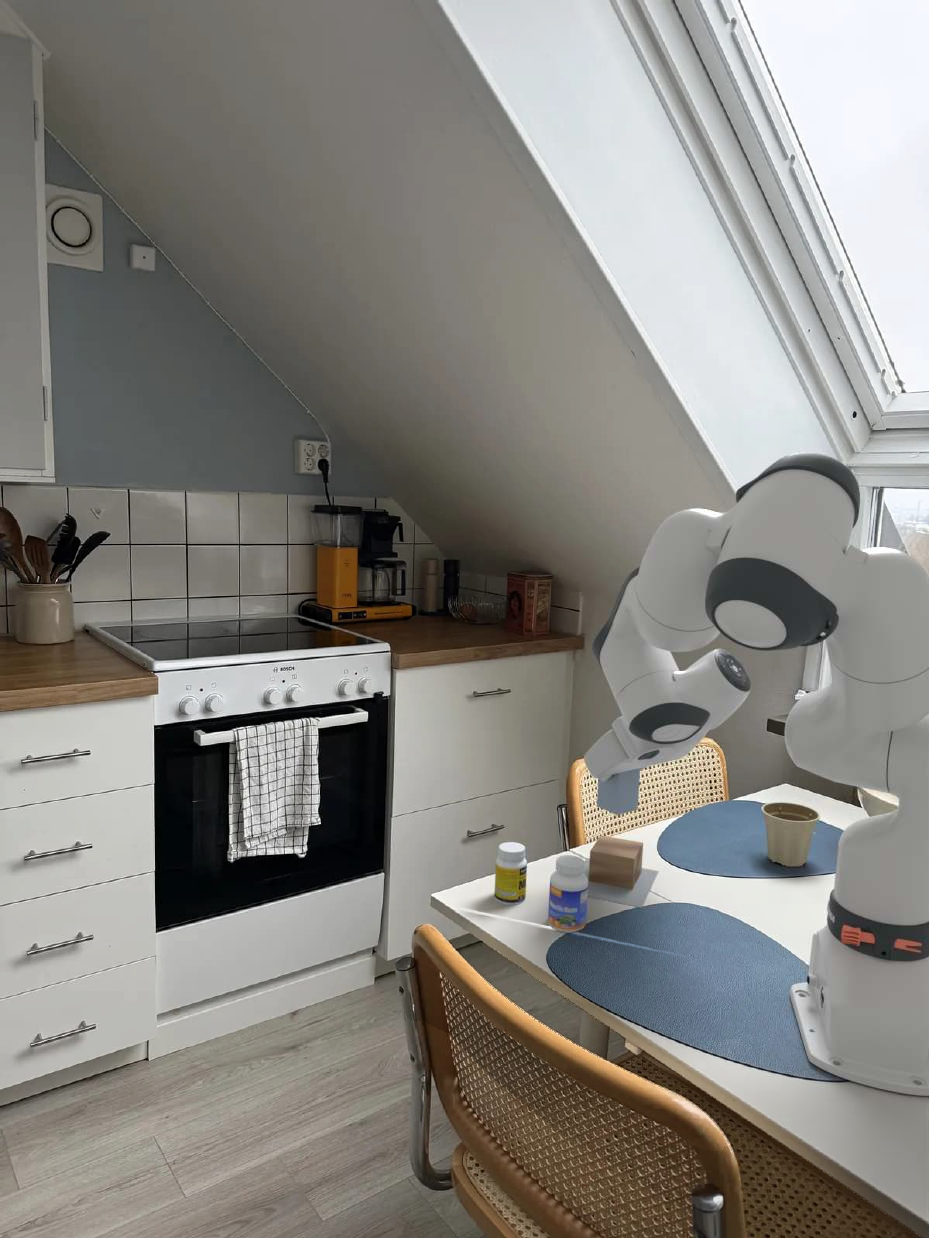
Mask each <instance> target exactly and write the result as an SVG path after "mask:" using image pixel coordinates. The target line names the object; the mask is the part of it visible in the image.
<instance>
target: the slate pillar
mask: <svg viewBox="0 0 929 1238" xmlns="http://www.w3.org/2000/svg"><path fill="white" fill-rule="evenodd" d="M640 772H641V771H640V768H639V769H634V770H630V771H626V772H621V773H617V774H614V775H615V776H614V777H613V778H612V779H611V780H609V781H605V782H602V781H601V780H600V778H597V795H596V796H597V797H596V807H597V808H600V809H602V810H605V811H607V812H609V813H611V814H614V815H616V816H619V815H623V814H626V813H630V812H634V811H638V810H639V795H640V794H639V793H640V790H639V789H640V774H641V773H640Z"/></svg>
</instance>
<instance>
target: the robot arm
mask: <svg viewBox="0 0 929 1238" xmlns="http://www.w3.org/2000/svg"><path fill="white" fill-rule="evenodd" d="M860 491H861V490H860V487H859V483H858V479H857V478H856V476H855V475H854V473H853V472H852V471H851V470H850V468H849V467H847V466H846V465H845V464H844V463H842V461H840V460H837V459H836V458H833V457H831V456H830V455H826V454H823V453H818V452H810V451H802V452H795V453H792V454H791V453H790V454H788V455H785V456H783V457H781V458H779V459H778V460H776V461H775V462H773V463H772V464H771V465H769V466H768V467H767V468H765V469H764V470H763V471H761V473H760V474H759V475H758V476H757V477H755V478H753V479H752V480H750V481H749V482H747V483H745V484H744V485H742V486H741V487H740V488H738V489H737V490H736V492H735V500H736V504H735V505H734V506H733V507H732V508H731V509H729V510H727V511H725V512H716V511H713V510H709V509H704V508H687V509H683V510H680V511H677V512H675V513H673V514H671V515H670V516H668V517H667V518H666V519H664V521H663V522H661V524H660V525H659V527H658V528H657V529H656V531H655V532H654V534H653V536H652V538H651V540H650V541H649V544H648V546H647V548H646V550H645V552H644V554H643V557H642V560H641V563H640V565H639V566H638V567H637V568H635V569H634V570H632V571H631V573H630V574H628V576H627V577H626V579H625V580H624V581H623V584H622V585H621V587H620V591H619V592H618V595H617V597H616V599H615V602H614V605H613V608H612V610H611V613H610V616H609V617H608V619H607V621H606V622H605V623H604V624H603V625H602V626H601V628H600V629H599V630H598V632H597V634H596V635H595V637H594V641H593V643H592V653H593V655H594V657H595V658H596V660H597V663H598V664H599V667H600V668H601V670H602V672H603V674H604V677H605V679H606V681H607V683H608V686H609V687H610V690H611V692H612V694H613V695H612V696H613V697H614V699H615V703H616V704H617V706H618V708H619V711H620V713H621V715H620V716H619V717H617V718H616V719H615V720H613V722H612V723H611V726H612V729H609V731H607V732H606V733H605V732H604V734H603V735H602V736H600V738H598V740H597V741H596V742H595V743H594V744H593V745H592V746H590V748H589V749H588V750H587V751H586V752H585V754H584V756H583V761H584V764H585V767H586V768H587V771H588V772H589V773H590V776H591V777H592V778H593V779H598V778H600V780H601V781H602V782H605V781H609V780H611V779H612V778H613V777H614V776H615V775H614V774H617V773H621V772H626V771H630V770H634V769H639V768H640V772H641V771H643V770H645V769H647V768H649V767H652V766H656V765H660V764H664V763H668V762H672V761H677V760H680V759H682V758H684V757H685V756H687V755H688V754H690V752H692V751H693V750H694V749H695V748H696V747H697V745H699V744H700V743H701V742H702V741H703V739H704V738H705V737H706V736H707V733H708V732H709V731H711V730H714V729H716V728H718V727H719V726H720V725H722V724H723V723H724V722H726V720H728V719H729V718H730V717H731V716H732V715H733V714H734V713H735V712H736V711H737V709H739V708H740V707H741V705H742V704H743V703H744V702H745V700H747V699H748V696H749V694H750V692H751V690H752V684H751V679H750V677H749V675H748V673H747V671H746V669H745V667H744V666H743V664H742V662H741V661H740V660H739V659H738V658H737V657H736V656H735V655H734V654H732V653H730V651H728V650H725V649H723V648H716V649H714V650H711V651H709V652H707V654H705V655H703V656H702V657H701V658H699V659H698V660H696V661H695V662H694V663H693V664H691V665H690V666H689V667H688V668H686V669H685V670H680V669H679V666H678V665H677V663H676V660H675V659H674V656H673V654H672V652H673V653H685V652H686V653H687V652H692V651H696V650H699V649H702V648H704V647H706V646H707V645H709V644H710V643H712V642H713V641H714V640H716V638H717V637H718V636H719V635H720V634H722V635H723V636H724V637H726V638H727V639H728V640H730V641H731V642H733V643H735V644H737V645H740V646H741V647H744V648H747V649H751V650H755V651H764V652H765V651H768V652H769V651H770V652H772V651H773V652H774V651H785V650H792V649H795V648H799V647H810V646H813V645H817V644H820V643H822V642H824V641H825V645H826V650H827V655H828V660H829V666H830V674H831V683H830V684H829V685H827V686H826V687H823V688H821V689H818V690H815V691H809V692H807V693H806V694H804V695H802V697H801V698H799V699H798V700H797V701H796V703H795V704H794V705H793V707H792V708H791V710H789V714H788V715H787V718H786V721H785V726H784V742H785V745H786V749H787V752H788V755H789V756H790V758H791V760H792V761H793V763H794V764H795V766H796V767H798V768H800V769H803V770H805V771H806V772H809V773H811V774H814V775H815V776H818V777H822V778H823V779H826V780H828V781H831V782H833V783H839V784H844V785H848V786H853V787H857V788H862V789H867V790H872V791H877V792H880V793H885V794H890V795H893V796H895V797H897V798H898V807H897V809H896V810H894V811H891V812H888V813H882V814H879V815H878V814H877V815H873V816H868V817H865V818H861V819H859V820H857V821H855V822H854V821H853V822H852V823H850V824H849V825H848V826H847V827H846V828H845V830H844V831H842V833H841V835H840V837H839V840H838V847H837V855H836V856H837V857H836V867H835V874H834V875H835V878H834V887H833V889H832V890H831V892H830V894H829V899H828V902H827V908H826V910H827V917H826V925H825V926H824V927H823V928H821V929H819V930H818V931H816V932H814V933H813V935H812V941H811V946H810V947H811V949H810V958H809V965H808V971H807V972H808V975H807V976H806V982H799V983H794V984H792V985H791V986H790V991H789V996H790V997H789V998H790V1000H791V1004H792V1008H793V1012H794V1015H795V1019H796V1021H797V1025H798V1028H799V1032H800V1035H801V1039H802V1042H803V1046H804V1048H805V1054H806V1056H807V1059H808V1061H809V1062H810V1063H812V1064H813V1065H814V1066H816V1067H817V1068H820V1069H822V1070H824V1071H825V1072H828V1073H830V1074H832V1075H834V1076H836V1077H839V1078H843V1079H845V1080H848V1081H850V1082H854V1083H858V1084H861V1085H864V1086H868V1087H872V1088H874V1089H880V1090H884V1091H889V1092H893V1093H899V1094H904V1095H910V1096H911V1095H912V1096H921V1097H926V1096H927V1097H928V1096H929V576H928V574H927V572H926V569H925V568H924V566H923V565H922V564H921V563H920V562H919V561H918V560H917V559H916V558H914V556H912V555H910V554H908V553H907V552H904V551H902V550H900V549H897V548H892V547H882V546H881V547H877V546H875V547H869V548H864V549H859V548H857V547H855V546H854V545H852V544H850V540H851V536H852V532H853V529H854V527H855V526H856V525H857V522H858V520H859V516H860V515H859V514H860V506H861V492H860ZM849 544H850V545H849ZM821 634H823V635H821Z"/></svg>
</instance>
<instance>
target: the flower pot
mask: <svg viewBox="0 0 929 1238" xmlns="http://www.w3.org/2000/svg"><path fill="white" fill-rule="evenodd" d="M760 809H761V812H762V814H763V820H764V822H765V831H766V846H767V847H766V848H767V850H766V851H767V857H768V859H769V860H770V859H771V860H772V861H771V860H770V861H771V862H773V863H774V862H777V863H778V864H781V865H782V866H784V865H785V867H802V866H803V865H804V864H806V863H807V860H808V855H809V851H810V846H811V842H812V839H813V835H814V831H815V828H816V826H817V824H818V821H819V820H820V819H821V813H819V811H818V810H816V809H814V808H812V807H809V806H806V805H804V804H801V803H800V804H799V803H795V802H788V801H774V802H768V803H764V804H763V805H762V806H761V808H760Z"/></svg>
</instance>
